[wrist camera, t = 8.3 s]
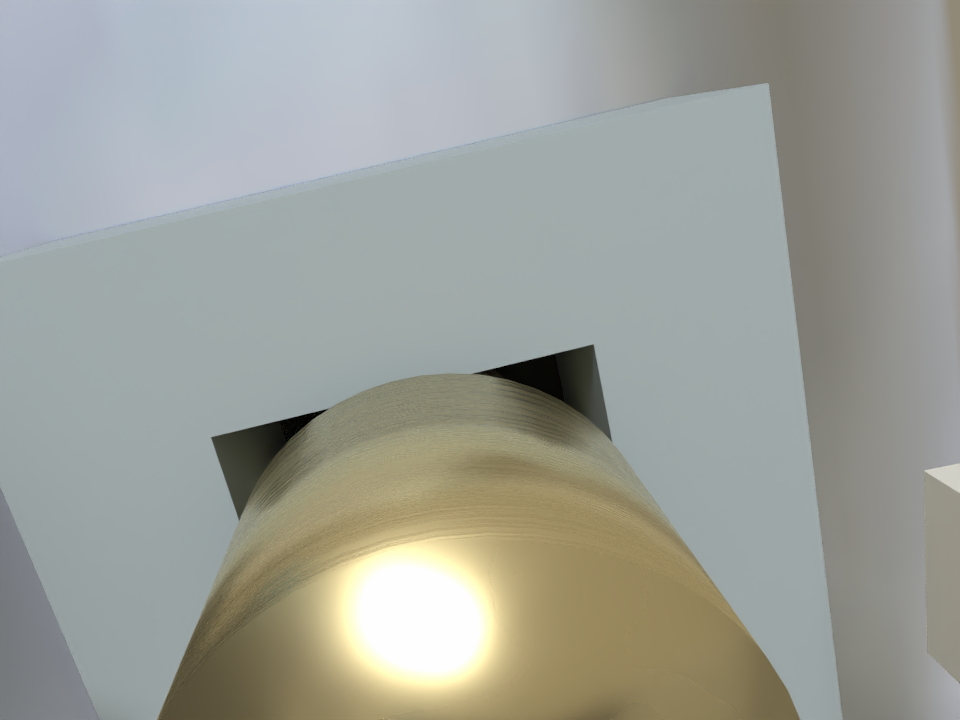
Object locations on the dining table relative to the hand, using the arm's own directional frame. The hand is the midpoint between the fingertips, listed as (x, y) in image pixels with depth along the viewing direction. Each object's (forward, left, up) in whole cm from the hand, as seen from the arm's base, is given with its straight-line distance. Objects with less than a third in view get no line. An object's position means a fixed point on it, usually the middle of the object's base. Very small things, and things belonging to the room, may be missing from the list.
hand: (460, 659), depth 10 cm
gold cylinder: (0, 0, -7) cm, 7 cm away
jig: (0, 0, -7) cm, 7 cm away
